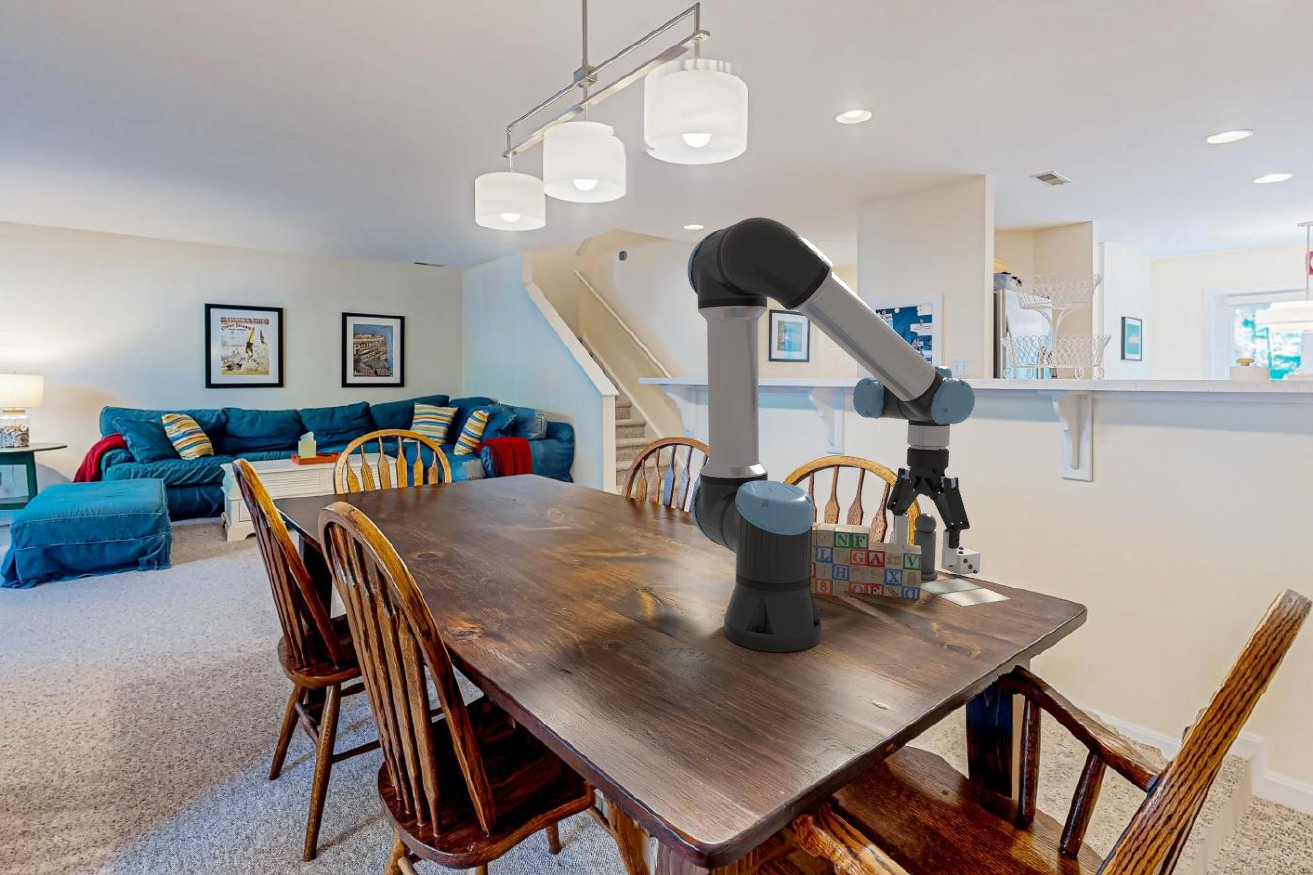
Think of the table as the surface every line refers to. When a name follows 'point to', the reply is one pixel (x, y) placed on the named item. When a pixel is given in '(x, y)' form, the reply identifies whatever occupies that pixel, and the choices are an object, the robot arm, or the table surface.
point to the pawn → (926, 544)
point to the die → (965, 562)
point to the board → (960, 585)
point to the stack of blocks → (862, 563)
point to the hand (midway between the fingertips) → (923, 555)
